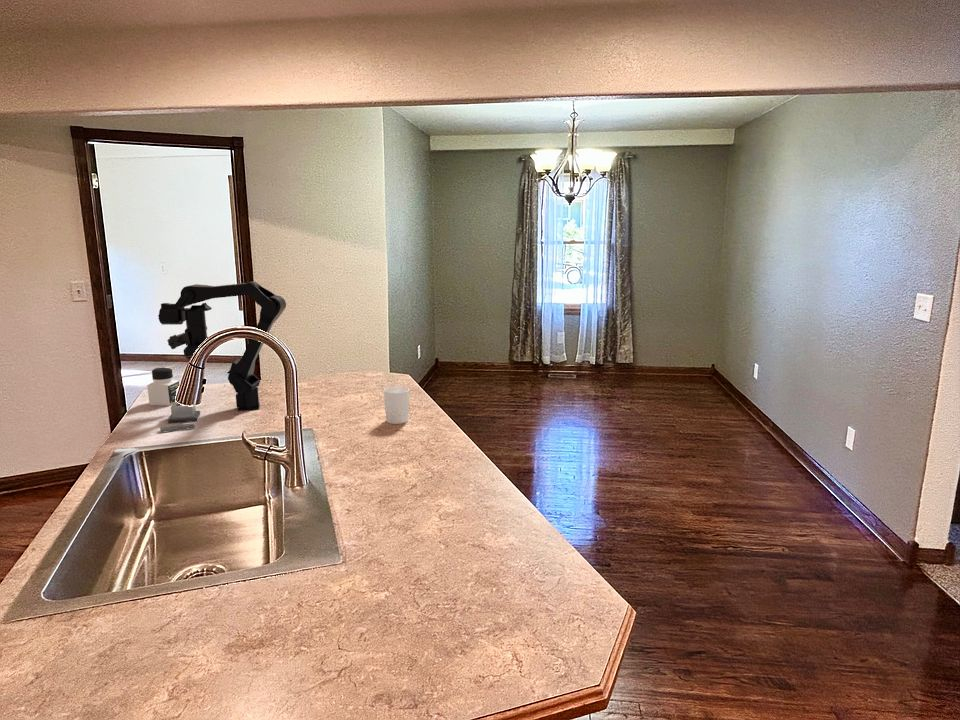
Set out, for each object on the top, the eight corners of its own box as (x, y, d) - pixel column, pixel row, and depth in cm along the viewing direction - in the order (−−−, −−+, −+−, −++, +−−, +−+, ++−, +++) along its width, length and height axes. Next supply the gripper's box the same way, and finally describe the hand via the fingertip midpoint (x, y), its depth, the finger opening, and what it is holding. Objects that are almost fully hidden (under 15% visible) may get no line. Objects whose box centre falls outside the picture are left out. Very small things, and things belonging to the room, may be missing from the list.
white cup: (412, 417, 189) (411, 386, 187) (407, 425, 182) (406, 393, 180) (387, 416, 190) (387, 385, 188) (381, 424, 182) (380, 392, 180)
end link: (196, 411, 190) (194, 400, 189) (193, 417, 185) (192, 406, 184) (175, 413, 188) (173, 402, 188) (171, 419, 183) (170, 407, 182)
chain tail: (194, 426, 179) (194, 422, 179) (194, 428, 178) (194, 424, 177) (160, 430, 176) (160, 426, 175) (160, 432, 174) (160, 428, 173)
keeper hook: (200, 413, 192) (198, 398, 191) (197, 421, 184) (195, 405, 183) (172, 415, 189) (170, 400, 188) (168, 423, 182) (166, 407, 181)
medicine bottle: (170, 406, 200) (166, 370, 197) (149, 405, 200) (145, 370, 197) (181, 400, 207) (177, 365, 204) (160, 399, 207) (157, 365, 204)
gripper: (172, 321, 198) (177, 367, 201) (162, 330, 181) (168, 380, 184) (209, 320, 201) (213, 365, 205) (203, 328, 184) (207, 378, 188)
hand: (200, 372), depth 195 cm, fingers open, 9 cm apart
